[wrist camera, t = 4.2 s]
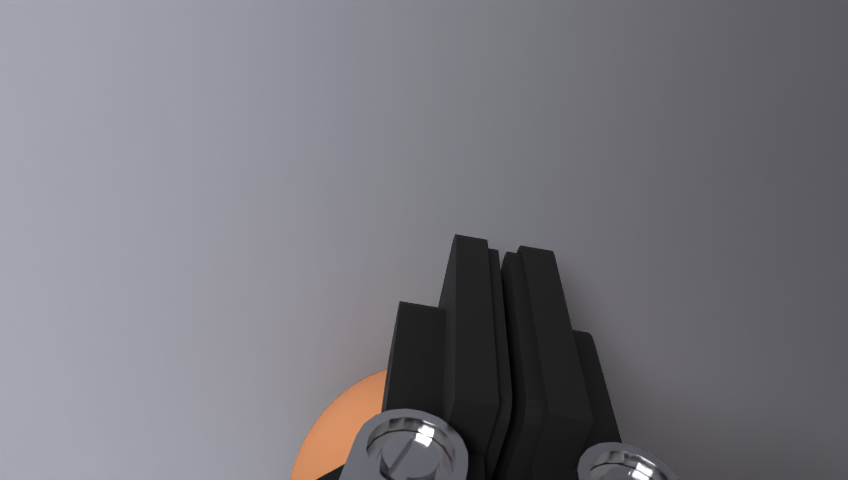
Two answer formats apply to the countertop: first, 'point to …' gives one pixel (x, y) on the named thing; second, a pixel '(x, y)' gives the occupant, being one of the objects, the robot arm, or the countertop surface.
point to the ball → (339, 428)
